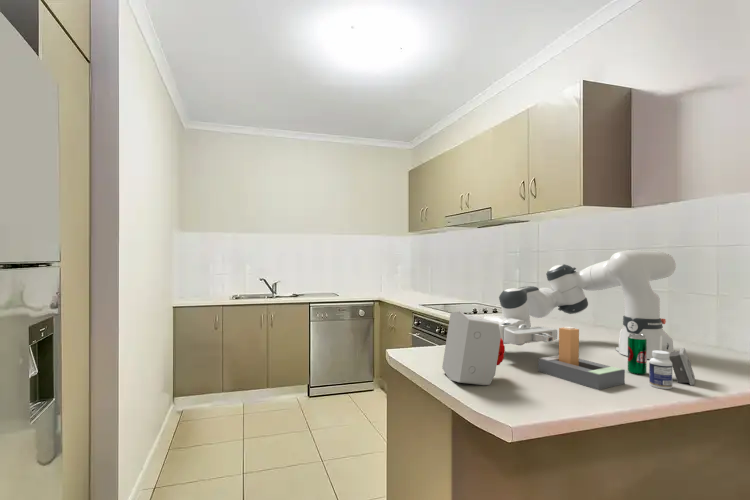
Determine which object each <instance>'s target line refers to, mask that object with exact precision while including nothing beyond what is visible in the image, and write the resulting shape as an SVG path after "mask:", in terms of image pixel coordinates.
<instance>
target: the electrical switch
mask: <svg viewBox="0 0 750 500" xmlns="http://www.w3.org/2000/svg"><path fill="white" fill-rule="evenodd" d="M675 351H676V352H671V353H670V355H669V356H670V357H669V358H670V361H671V362H672V371H673V372H674V373H673V374H674V375H675V378H676V381H677V383H678V384H681V383H682V384H683V383H684V384H687V383H688V384H689V385H690V386H694V385H695V379H696V378H695V373H694V370H693V367H692V360H691V359H689V355H688V353H687V351H686V349H685V347H681V348H680V350H675ZM671 356H672V357H671Z"/></svg>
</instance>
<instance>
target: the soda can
mask: <svg viewBox="0 0 750 500" xmlns="http://www.w3.org/2000/svg"><path fill="white" fill-rule="evenodd" d="M647 361H648V359H647V339H646V337H645V335H642V334H629V336H628V356H627V372H628V373H630V374H633V375H638V376H640V375H641V376H643V375H646V374H647V372H648V371H647V369H648V368H647V366H648V365H647V364H648V363H647Z"/></svg>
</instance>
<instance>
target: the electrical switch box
mask: <svg viewBox="0 0 750 500" xmlns="http://www.w3.org/2000/svg"><path fill="white" fill-rule="evenodd" d="M505 348H506V347H505V344H503V340H502V338H501V335H500V329H499V324H497V323H495V322H492V321H489V320H486V319H484V318H483V317H480V316H477V315H472V314H466V313H464V312H463V311H460V310H459V311H452V312H450V314H449V321H448V327H447V334H446V340H445V348H444V353H443V361H442V366H441V367H442V371H443V372H444V373H445V375H446V376H447V378H448V379H449V380H450V381H453V382H457V383H462V384H470V385H478V386H490V385H491V383H492V381H493V380H494V377H495V376H496V371H497V366H501V365H500V364H501V363H503V361H504V357H505V352H506V351H505V350H506V349H505Z"/></svg>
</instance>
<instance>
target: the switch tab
mask: <svg viewBox="0 0 750 500" xmlns="http://www.w3.org/2000/svg"><path fill="white" fill-rule="evenodd" d="M558 355H559V361H561V362H565V363H569V364H572V365H576V366H579V359H580V328H576V327H574V326H573V327H572V326H563V327H559V329H558Z"/></svg>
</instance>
